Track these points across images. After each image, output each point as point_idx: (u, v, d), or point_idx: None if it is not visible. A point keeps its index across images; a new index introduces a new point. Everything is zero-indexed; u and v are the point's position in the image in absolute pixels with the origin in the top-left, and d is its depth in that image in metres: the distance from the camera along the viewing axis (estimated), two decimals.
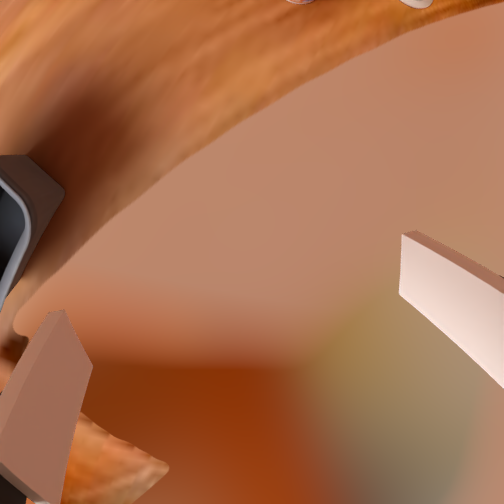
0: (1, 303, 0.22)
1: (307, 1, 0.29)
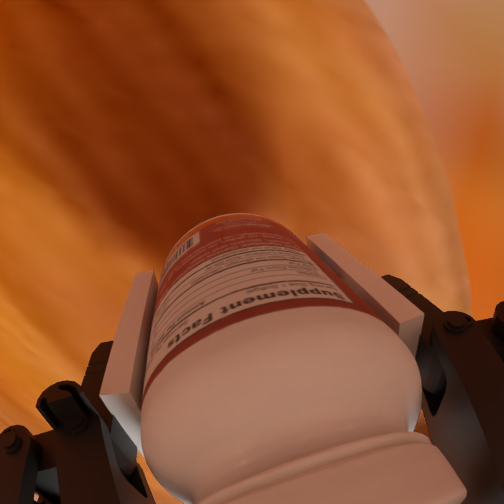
0: None
1: None
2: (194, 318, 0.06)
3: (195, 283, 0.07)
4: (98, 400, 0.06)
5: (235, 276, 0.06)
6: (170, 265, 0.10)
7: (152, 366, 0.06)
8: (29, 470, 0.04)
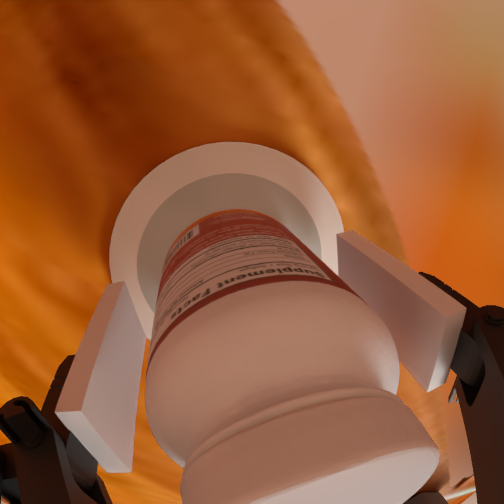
0: None
1: None
2: (194, 293, 0.07)
3: (194, 266, 0.08)
4: None
5: (230, 259, 0.07)
6: (172, 254, 0.11)
7: (157, 337, 0.06)
8: None
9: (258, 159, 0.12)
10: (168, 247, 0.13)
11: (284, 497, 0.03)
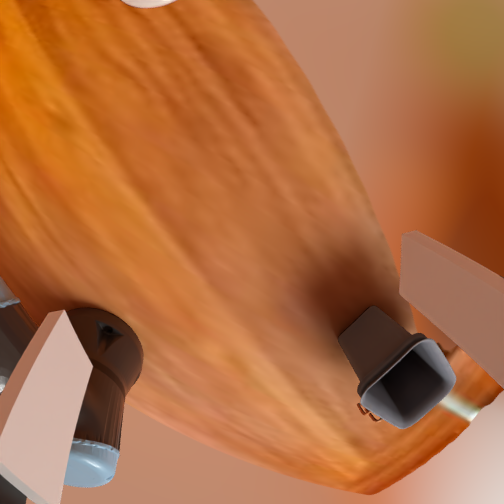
0: (446, 361, 0.39)
1: None
2: None
3: None
4: None
5: None
6: None
7: None
8: None
9: None
10: None
11: None
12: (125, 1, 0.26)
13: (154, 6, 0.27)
